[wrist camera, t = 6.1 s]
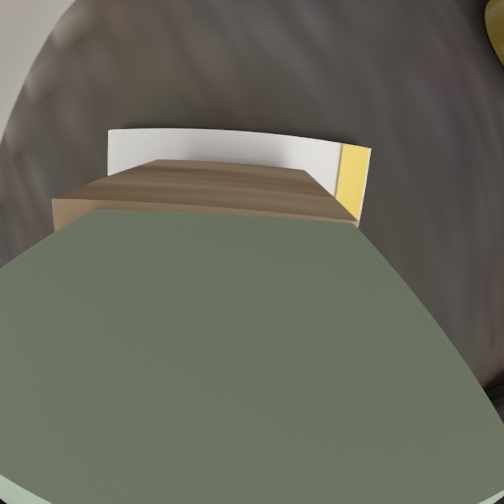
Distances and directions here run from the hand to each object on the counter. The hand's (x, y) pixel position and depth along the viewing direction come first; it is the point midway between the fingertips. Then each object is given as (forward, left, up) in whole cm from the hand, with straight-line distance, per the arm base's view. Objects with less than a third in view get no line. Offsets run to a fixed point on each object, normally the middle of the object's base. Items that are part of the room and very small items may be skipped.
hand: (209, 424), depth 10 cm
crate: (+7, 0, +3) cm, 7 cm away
